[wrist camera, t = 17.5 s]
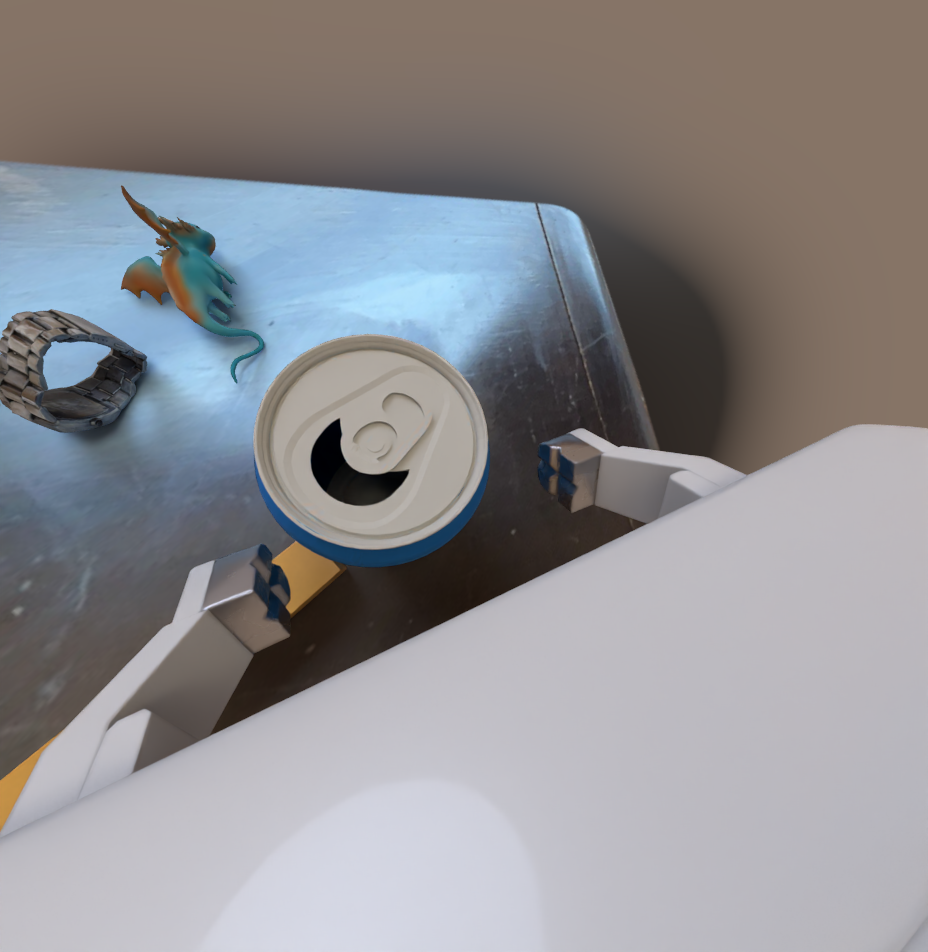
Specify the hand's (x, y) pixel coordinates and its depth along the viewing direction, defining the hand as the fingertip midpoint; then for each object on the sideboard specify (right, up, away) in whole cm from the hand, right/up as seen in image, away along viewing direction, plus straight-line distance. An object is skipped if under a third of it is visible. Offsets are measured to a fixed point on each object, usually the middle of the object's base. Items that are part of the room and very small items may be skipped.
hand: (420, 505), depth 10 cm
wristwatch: (-18, +5, +8) cm, 20 cm away
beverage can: (-3, -1, +10) cm, 11 cm away
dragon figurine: (-14, +11, +11) cm, 21 cm away
